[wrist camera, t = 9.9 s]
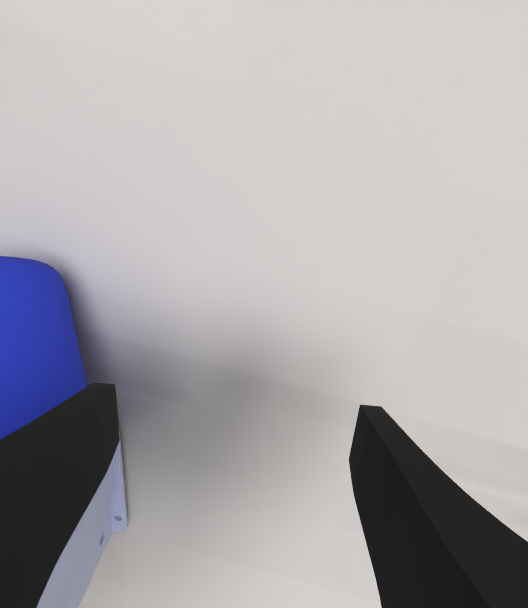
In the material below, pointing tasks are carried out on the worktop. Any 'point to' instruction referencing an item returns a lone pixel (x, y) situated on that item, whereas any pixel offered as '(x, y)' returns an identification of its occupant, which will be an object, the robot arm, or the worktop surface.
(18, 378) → the mug
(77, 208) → the worktop surface
